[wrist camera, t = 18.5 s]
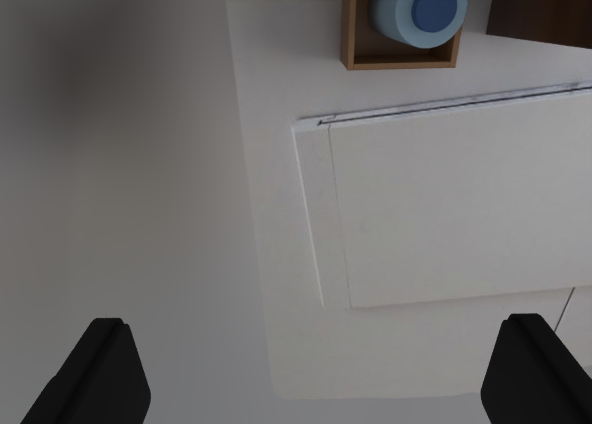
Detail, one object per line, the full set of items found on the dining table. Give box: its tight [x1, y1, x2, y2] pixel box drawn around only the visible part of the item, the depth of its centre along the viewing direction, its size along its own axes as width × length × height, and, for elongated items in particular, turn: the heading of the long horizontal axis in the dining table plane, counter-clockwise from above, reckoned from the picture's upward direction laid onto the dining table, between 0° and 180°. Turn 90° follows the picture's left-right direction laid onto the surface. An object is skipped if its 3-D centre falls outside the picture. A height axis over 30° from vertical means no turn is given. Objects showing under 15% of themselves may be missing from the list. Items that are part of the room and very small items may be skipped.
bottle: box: [367, 0, 468, 48], centre depth 29 cm, size 5×5×13 cm
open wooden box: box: [340, 0, 462, 70], centre depth 32 cm, size 9×9×6 cm
